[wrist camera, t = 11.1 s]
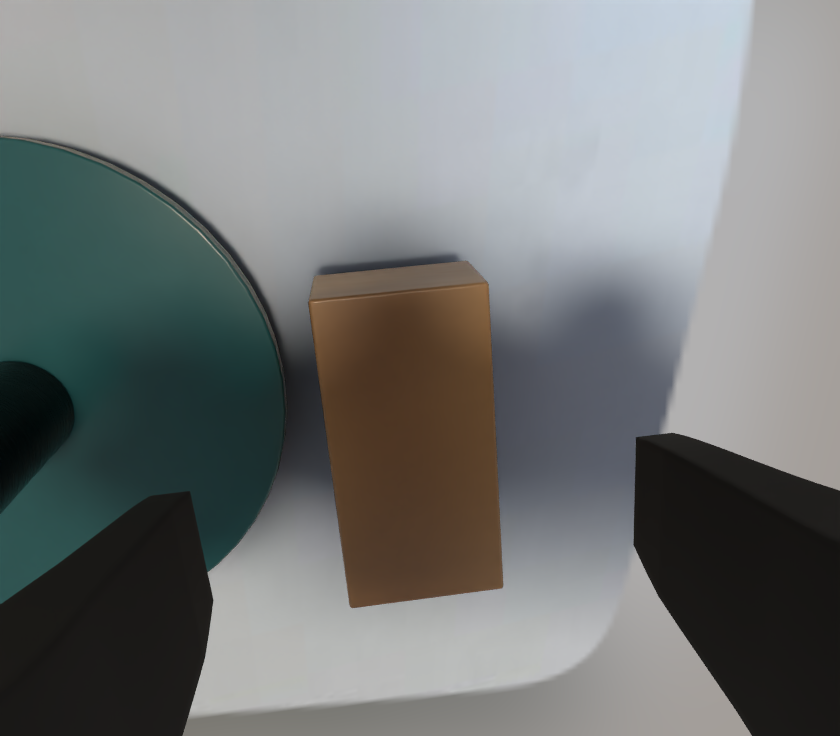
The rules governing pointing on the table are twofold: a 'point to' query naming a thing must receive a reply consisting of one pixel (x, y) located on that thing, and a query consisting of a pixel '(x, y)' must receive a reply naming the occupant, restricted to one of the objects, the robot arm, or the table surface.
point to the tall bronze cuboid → (410, 429)
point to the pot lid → (122, 363)
